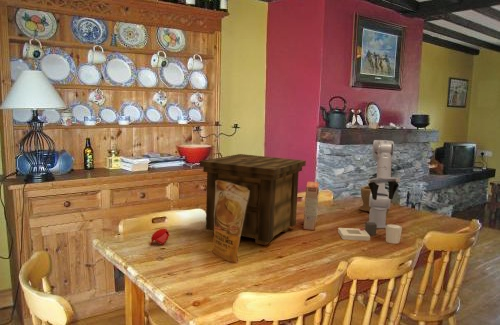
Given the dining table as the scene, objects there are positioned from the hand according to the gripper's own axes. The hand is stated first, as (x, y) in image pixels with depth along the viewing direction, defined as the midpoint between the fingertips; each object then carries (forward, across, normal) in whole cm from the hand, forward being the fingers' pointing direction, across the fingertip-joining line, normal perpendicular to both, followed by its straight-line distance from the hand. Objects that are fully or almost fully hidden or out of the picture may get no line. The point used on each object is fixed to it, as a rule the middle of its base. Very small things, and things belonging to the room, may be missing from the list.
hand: (382, 199), depth 175 cm
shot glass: (+17, 0, +10) cm, 20 cm away
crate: (+21, -46, -31) cm, 59 cm away
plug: (+14, -11, +11) cm, 21 cm away
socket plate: (+16, -14, +2) cm, 22 cm away
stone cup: (-3, -31, +45) cm, 55 cm away
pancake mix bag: (+34, -31, -56) cm, 73 cm away
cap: (+33, -57, -70) cm, 97 cm away
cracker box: (+13, -36, -3) cm, 38 cm away
